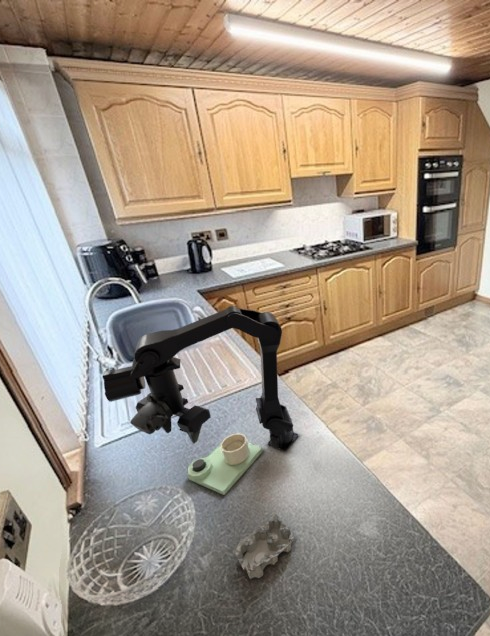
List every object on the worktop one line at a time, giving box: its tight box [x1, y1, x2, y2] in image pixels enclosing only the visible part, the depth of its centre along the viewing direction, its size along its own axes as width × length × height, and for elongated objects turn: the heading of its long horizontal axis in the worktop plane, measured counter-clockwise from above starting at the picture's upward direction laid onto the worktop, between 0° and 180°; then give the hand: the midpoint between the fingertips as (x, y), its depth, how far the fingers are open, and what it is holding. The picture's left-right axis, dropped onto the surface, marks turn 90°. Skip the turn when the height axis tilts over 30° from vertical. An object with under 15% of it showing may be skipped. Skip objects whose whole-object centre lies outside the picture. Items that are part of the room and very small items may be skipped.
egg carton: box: [234, 513, 295, 580], centre depth 72 cm, size 11×8×4 cm
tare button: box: [193, 458, 205, 472], centre depth 90 cm, size 3×3×2 cm
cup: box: [220, 433, 250, 465], centre depth 93 cm, size 7×7×5 cm
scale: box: [187, 442, 264, 496], centre depth 93 cm, size 15×13×3 cm
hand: (181, 437), depth 87 cm, fingers open, 9 cm apart
